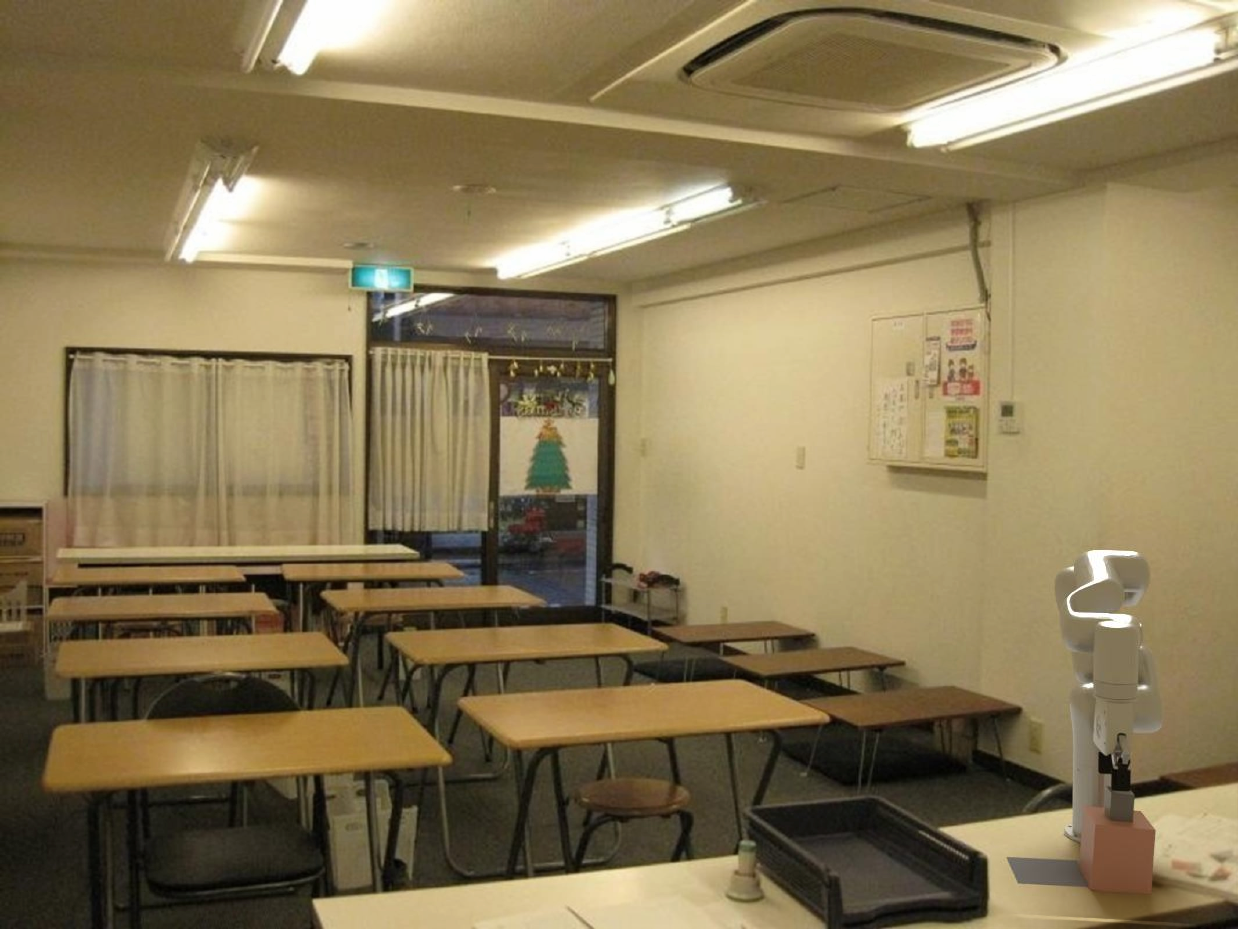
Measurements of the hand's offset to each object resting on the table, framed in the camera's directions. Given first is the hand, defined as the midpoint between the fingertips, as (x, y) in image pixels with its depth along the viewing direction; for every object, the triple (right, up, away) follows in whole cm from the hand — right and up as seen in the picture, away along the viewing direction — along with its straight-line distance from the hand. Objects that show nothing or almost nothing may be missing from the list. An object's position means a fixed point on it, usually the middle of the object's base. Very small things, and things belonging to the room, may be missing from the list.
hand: (1113, 782), depth 223 cm
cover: (0, -18, -1) cm, 18 cm away
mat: (-11, -18, +4) cm, 22 cm away
